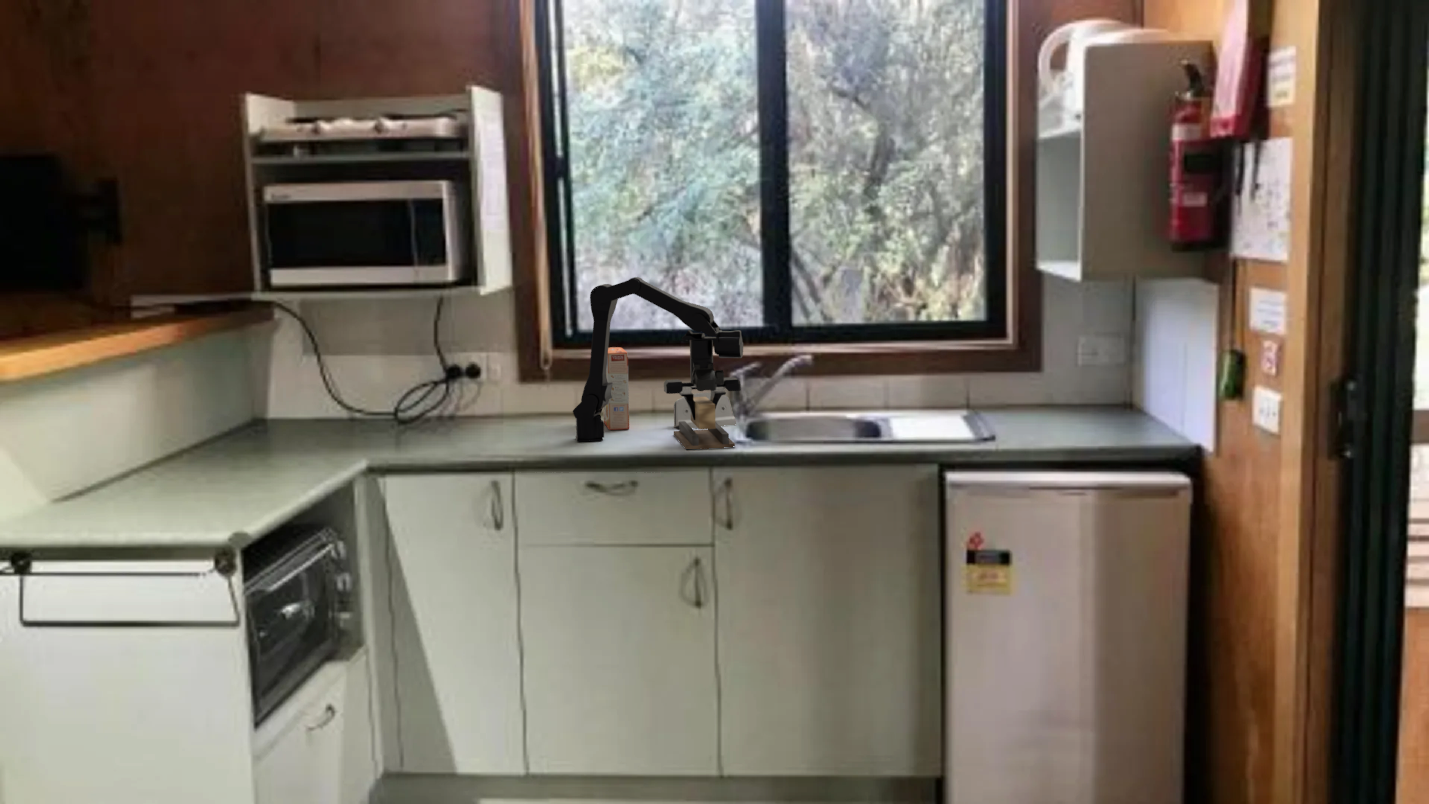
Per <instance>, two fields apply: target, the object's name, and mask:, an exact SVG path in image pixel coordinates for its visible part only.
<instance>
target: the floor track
mask: <svg viewBox="0 0 1429 804" xmlns="http://www.w3.org/2000/svg"><path fill="white" fill-rule="evenodd" d="M715 426H716V429H692V428H691V427H690V426H689V425H688V424H687V423H686V422H685V421H679V427H678V429H679V430H673V436H674V437H675V438H676V439H677V440H679V441H680V442H679V441H678V442H679V443H680V444H681V443H682V444H681V446H682V447H683V446H684V447H685V448H684V447H683V448H684V449H685V450H686V449H701V450H710V449H709V448H720V449H725V448H724V447H733V446H735V447H736V443H735V442H734V441H733V440H732V439H731V438H729V437H730V436H729V434H730V433H728V432H727V431H726V430H725V429H724V428H723V426H722V427H721V426H720V425H719V424H717V423H716V422H715Z"/></svg>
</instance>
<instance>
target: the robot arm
mask: <svg viewBox="0 0 1429 804" xmlns="http://www.w3.org/2000/svg"><path fill="white" fill-rule="evenodd" d="M630 295H636V296H637V297H639V298H641V299H643V300H645V301H647V302H649V303H651V304H653V305H655V306H657V307H658V308H661V309H663V310H664V311H666V312H668V313H670V314H672V315H673V316H675V317H676V318H677V319H679V320H680V321H681V322H682V324H684V325H685V326H687V327H688V328H689V330H687V331H686V333H685V334H684V335H683V336H682V337H681V340H682V341H689V360H690V361H689V362H690V363H689V365H690V382H683V381H681V380H680V379H666V380H665V381H664V382H663V392H665V393H666V394H669V395H671V394H673V395H675V394H678V395H680V397H684V398H685V400H686V402H687V404H688V406H689V409H690V412H691V415H692V417H693V420H695V407H694V400H693V394H694V393H693V392H692V391H693V390H697V391H698V392H704V391H710V393H711V398H710V401H711V402H713V403H714V404H715V409H716V406H717V403H718V401H719V399H720V397H721V396H722V395H725V396H726V394H727V392H726V391H728V392H739V391H741V389H742V388H741V386H742V385H741V384H742V383H741V381H740V380H739V379H738V378H737V377H733V376H732V377H725V376H724V375H725V374H724V370H723V369H720V370H719V369H717V370H715V369H714V354H715V355H717V356H718V358H720V359H742V358H743V356H744V355H743V354H744V342H743V336H742V330H737V329H736V330H731V331H729V330H722V329H721V327H720V326H719V324H717V323H716V321H715V320H714V319H715V317H714V313H713V311H712V310H711V309H710V308H708V307H706V306H702V305H700V304H696V303H692V302H688V301H684V300H682V299H680V298H678V297H676V296H674V295H672V294H670V293H668V292H667V291H664V290H662V289H661V288H660V287H657V286H655V285H653V284H651V283H649V282H646V281H645V280H643V278H641V277H638V276H637V277H636V276H635V277H632V278H629V279H628V280H625V281H622V282H619V283H617V284H613V285H612V284H610V283H603V284H600V285H599V284H598V285H597V286H595V287H593V289H591V292H590V294H589V302H590V311H591V315H592V318H593V319H592V320H593V324H592V327H593V328H592V335H591V336H592V338H591V348H590V349H591V350H590V361H589V370H588V371H589V372H588V377H587V379H586V381H585V384H584V387H583V391H582V394H581V398H580V400H581V401H580V403H578V404H577V406H575V408H574V409H573V410H572V414H573V416H574V418H575V433H576V435H575V439H576V442H577V443H581V442H601V441H603V440H604V439H603V438H605V428H604V427H605V423H604V419H602V415H601V414H602V411H603V407H605V406H606V405H607V404H608V402H609V399H611V398H612V395H611V389H612V386H613V383H608V382H607V378H606V368H607V357H608V348H609V344H610V333H611V332H610V331H611V321H612V318H613V315H614V314H615V310H616V307H617V304H618V301H619V299H622V298H625V297H628V296H630ZM690 329H691V330H690ZM693 331H694V332H693ZM725 390H726V391H725Z"/></svg>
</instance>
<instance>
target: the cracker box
mask: <svg viewBox="0 0 1429 804" xmlns="http://www.w3.org/2000/svg"><path fill="white" fill-rule="evenodd" d="M606 378H607V382H608V383H613V386H612V389H611V395H612V398H611V399H609V402H608V404H607V405H606V406H605V407H603V409H602V411H603V415H602V416H603V422H604V426H606V427H607V429H608V430H609V431H620V430H622V431H623V430H629V429H630V401H629V400H630V398H629V397H630V394H629V393H630V392H629V391H630V390H629V352H628V351H626V350H625V349H624V348H623V347H618V346H617V347H616V346H612V347H608V357H607V368H606Z"/></svg>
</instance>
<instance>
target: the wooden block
mask: <svg viewBox="0 0 1429 804" xmlns="http://www.w3.org/2000/svg"><path fill="white" fill-rule="evenodd" d="M693 400H694V407H695V420H693V417H692V415H691V421H692V422H693V423H694V424H695V425H696V426H697V427H698V430H708V429H716V426H715V404H714V403H713V402H711V401H710V400H709V399H708V398H707V397H693Z"/></svg>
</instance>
